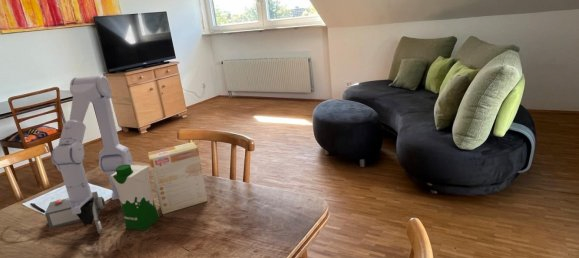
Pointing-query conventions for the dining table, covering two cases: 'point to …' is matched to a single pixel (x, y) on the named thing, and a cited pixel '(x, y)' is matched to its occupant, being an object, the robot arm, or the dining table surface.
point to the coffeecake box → (178, 177)
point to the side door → (96, 219)
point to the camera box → (67, 212)
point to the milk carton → (135, 196)
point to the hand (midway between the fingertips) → (88, 223)
